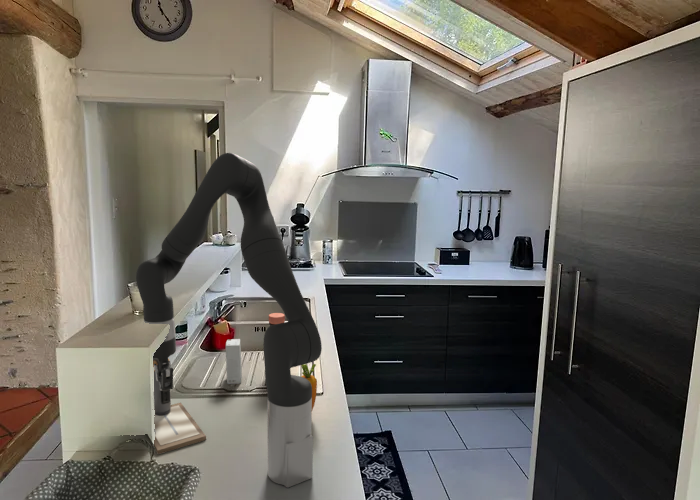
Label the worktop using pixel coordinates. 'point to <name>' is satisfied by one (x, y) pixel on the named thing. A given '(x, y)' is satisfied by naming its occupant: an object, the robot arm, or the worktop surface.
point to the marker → (158, 407)
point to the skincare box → (233, 361)
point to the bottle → (276, 318)
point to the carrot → (310, 380)
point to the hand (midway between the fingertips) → (162, 398)
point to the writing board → (176, 430)
